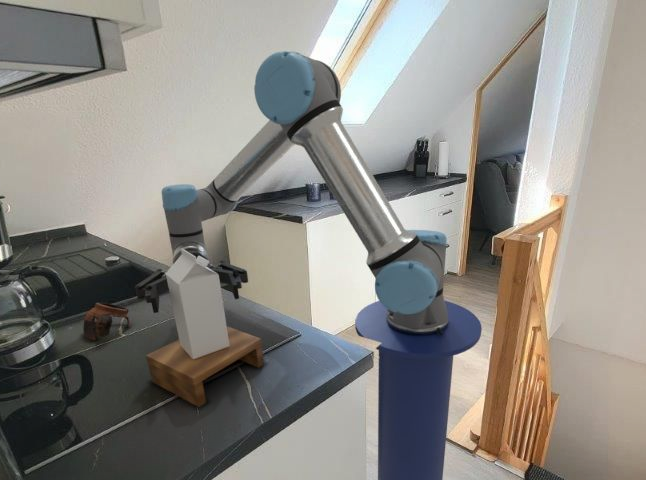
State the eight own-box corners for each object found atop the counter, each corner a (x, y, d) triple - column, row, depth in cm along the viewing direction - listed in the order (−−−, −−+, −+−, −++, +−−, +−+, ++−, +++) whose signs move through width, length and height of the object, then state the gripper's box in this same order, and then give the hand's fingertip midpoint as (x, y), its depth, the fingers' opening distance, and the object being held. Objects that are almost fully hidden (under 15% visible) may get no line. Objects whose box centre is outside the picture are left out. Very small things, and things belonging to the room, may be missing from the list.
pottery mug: (81, 331, 99) (91, 299, 99) (124, 339, 103) (133, 308, 104) (76, 340, 88) (87, 304, 89) (124, 349, 93) (134, 314, 93)
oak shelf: (264, 364, 83) (261, 338, 81) (198, 407, 71) (192, 378, 68) (218, 345, 90) (214, 321, 88) (152, 382, 78) (145, 355, 76)
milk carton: (193, 360, 74) (173, 261, 66) (180, 345, 79) (160, 252, 71) (230, 347, 78) (215, 252, 71) (215, 333, 83) (200, 244, 76)
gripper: (250, 271, 95) (269, 305, 77) (132, 288, 86) (122, 331, 68) (246, 240, 92) (265, 268, 74) (124, 255, 84) (111, 290, 65)
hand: (196, 298), depth 71 cm, fingers open, 13 cm apart
